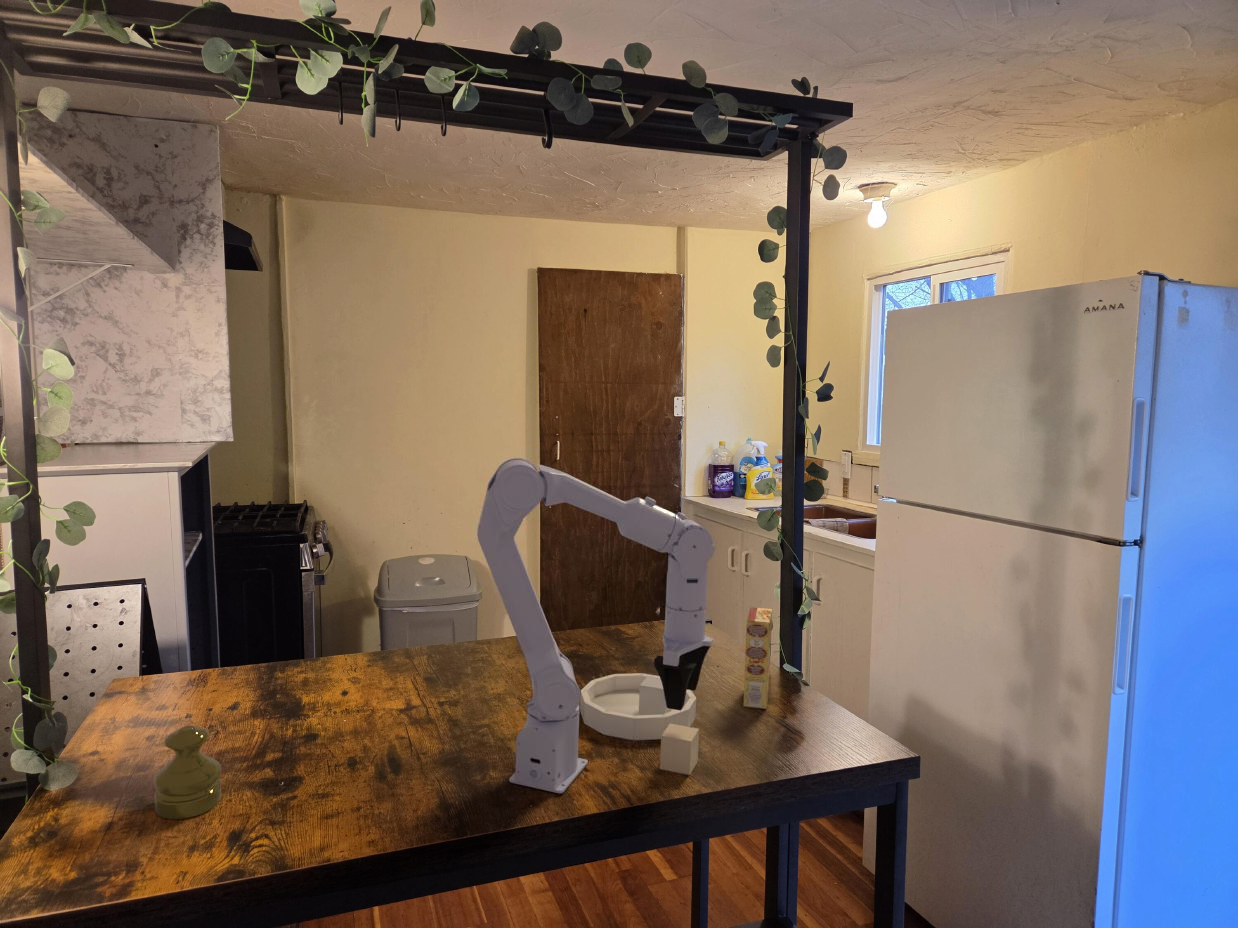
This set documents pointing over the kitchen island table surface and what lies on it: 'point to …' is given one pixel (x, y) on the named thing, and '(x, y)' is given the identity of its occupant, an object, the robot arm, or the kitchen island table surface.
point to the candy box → (757, 657)
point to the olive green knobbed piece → (187, 777)
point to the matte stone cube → (652, 697)
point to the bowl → (628, 708)
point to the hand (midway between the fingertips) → (681, 698)
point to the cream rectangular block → (679, 749)
